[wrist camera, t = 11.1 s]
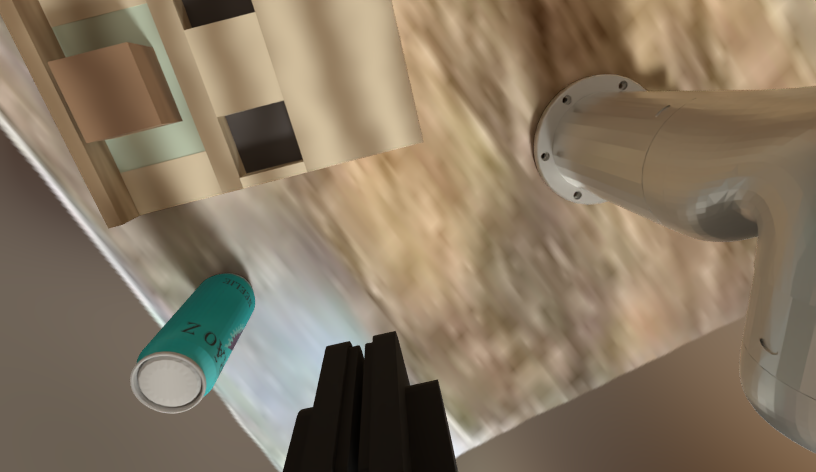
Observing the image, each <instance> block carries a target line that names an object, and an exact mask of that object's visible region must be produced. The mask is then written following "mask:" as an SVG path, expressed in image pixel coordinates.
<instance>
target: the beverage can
mask: <svg viewBox="0 0 816 472" xmlns="http://www.w3.org/2000/svg"><path fill="white" fill-rule="evenodd" d="M254 307H255V296H254V292H253V289H252V287H251V285H250V283H249V282H248V281H247V280H246V279H244V278H243V277H241V276H239V275H237V274H232V273H225V274H219V275H215V276H212V277H210V278H208V279H206V280H205V281H204V282H203V283H202V284H201V285H200V286H199V287H198V288H197V289H196V290H195V291H194V293H193V294H192V295H191V296H190V297H189V298H188V299H187V301H186V302H185V303H184V304H183V305H182V306H181V307H180V308H179V310H178V311H177V312H176V313H175V314H174V315H173V316H172V318H171V319H170V320H169V321H168V322H167V323H166V324H165V326H164V327H163V328H162V329H161V330H160V331H159V332H158V333H157V335H156V336H155V337H154V338H153V339H152V340H151V342H150V343H149V344H148V345H147V346H146V347H145V348H144V349H143V350H142V352H141V353H140V355H139V357H138V359H137V364H136V365H135V367H134V369H133V371H132V373H131V378H130V384H131V388H132V391H133V393H134V394H135V396H136V397H137V398H138V400H139V401H141V402H142V403H143V404H144V405H145V406H147V407H149V408H151V409H153V410H156V411H158V412H163V413H180V412H184V411H187V410H189V409H191V408H193V407H194V406H196V405H197V404H198V403H199V402H200V401H201V399H202V398H203V396H205V395H206V394H207V393H209V392H210V390H211V389H212V388H213V386H214V384H215V382H216V380H217V378H218V377H219V375H220V373H221V371H222V369H223V367H224V365H225V363H226V361H227V360H228V358H229V356H230V354H231V352H232V350H233V348H234V346H235V345H236V343H237V341H238V339H239V337H240V335H241V333H242V331H243V329H244V328H245V326H246V324H247V322H248V320H249V318H250V316H251V314H252V312H253V310H254Z"/></svg>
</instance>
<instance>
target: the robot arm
mask: <svg viewBox="0 0 816 472" xmlns="http://www.w3.org/2000/svg"><path fill="white" fill-rule="evenodd" d="M619 84H620V87H619ZM563 97H564V98H565V101H564V102H562V100H563ZM543 153H544V157H542V158H541V155H542V154H543ZM534 158H535V163H536V166H537V169H538V172H539V174H540V176H541V178H542V180H543V181H544V182H545V184H546V185H547V186H548V187H549V188H550V189H551V190H552V191H553V192H555V193H556V194H557V195H559V196H561V197H563V198H564V199H566V200H569V201H571V202H574V203H579V204H587V205H588V204H600V203H604V202H608V201H609V202H611V203H613V204H616V205H618V206H620V207H622V208H624V209H627V210H629V211H631V212H633V213H636V214H638V215H640V216H642V217H644V218H647V219H649V220H651V221H653V222H656V223H658V224H660V225H662V226H664V227H667V228H669V229H672V230H674V231H676V232H678V233H681V234H683V235H686V236H688V237H691V238H694V239H698V240H704V241H710V242H731V241H739V240H744V239H749V238H753V237H758V241H757V249H756V255H755V260H754V269H755V270H754V275H753V281H752V287H751V292H750V298H749V303H748V309H747V314H746V320H745V326H744V331H743V338H742V344H741V350H740V361H739V370H740V371H739V372H740V379H741V384H742V387H743V390H744V393H745V395H746V397H747V399H748V400H749V402H750V403H751V404H752V406H753V407H754V409H755V410H756V411H757V412H758V414H759V415H760V416H761V417H762V418H763V419H764V420H766V421H767V422H768V423H769V424H770V425H771V426H772V427H774V428H775V429H776V430H778V431H779V432H780V433H782V434H783V435H785V436H786V437H788V438H789V439H791V440H792V441H794V442H796V443H797V444H799V445H801V446H803V447H804V448H806V449H808V450H810V451H812V452H814V453H816V86H810V87H802V88H786V89H767V90H721V91H646V90H645V89H644V88H643V87H642V86H641V85H640V84H639V83H637V82H635V81H633V80H631V79H630V78H627V77H623V76H620V75H612V74H601V75H593V76H590V77H586V78H582V79H580V80H578V81H576V82H574V83H572V84H570V85H569V86H567V87H566V88H565V89H563V90H562V91H560V92H559V93H558V94H557V95H556V97H555V98H554V99H553V100H552V101H551V102H550V103H549V105H548V106H547V108H546V109H545V111H544V112H543V114H542V116H541V119H540V121H539V123H538V126H537V130H536V133H535V139H534ZM575 192H576V194H575V195H574V193H575ZM283 472H458V470H457V465H456V460H455V455H454V450H453V445H452V440H451V436H450V431H449V426H448V422H447V417H446V413H445V408H444V404H443V399H442V395H441V391H440V386H439V382H438V380H434V381H429V382H424V383H420V384H415V385H411V386H410V383H409V379H408V375H407V371H406V368H405V364H404V360H403V356H402V352H401V348H400V344H399V340H398V337H397V333H396V331H393V332H389V333H384V334H380V335H375V336H373V342H372V343H367V344H365V358H364V357H363V354H362V350H361V348H360V346H359V345H358V346H354V347H352V344H351V342H350V341H348V342H344V343H339V344H334V345H330V346H327V347H326V349H325V354H324V358H323V363H322V368H321V373H320V377H319V382H318V387H317V391H316V396H315V401H314V405H313V407H311V408H306V409H302V410H300V411H299V413H298V415H297V418H296V422H295V426H294V430H293V434H292V438H291V442H290V446H289V449H288V453H287V457H286V461H285V465H284V469H283Z"/></svg>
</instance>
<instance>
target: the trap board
mask: <svg viewBox="0 0 816 472" xmlns="http://www.w3.org/2000/svg"><path fill="white" fill-rule="evenodd" d="M0 14H1V16H2V18H3V20H4V22H5V24H6V26H7V28H8V30H9V32H10V34H11V36H12V38H13V40H14V42H15V44H16V46H17V48H18V50H19V52H20V54H21V56H22V58H23V60H24V62H25V64H26V66H27V68H28V70H29V72H30V74H31V76H32V78H33V80H34V82H35V84H36V86H37V88H38V90H39V92H40V94H41V96H42V98H43V100H44V102H45V104H46V106H47V108H48V110H49V111H50V113H51V115H52V117H53V119H54V121H55V123H56V125H57V127H58V129H59V131H60V133H61V135H62V137H63V139H64V141H65V143H66V145H67V147H68V149H69V151H70V153H71V155H72V157H73V159H74V161H75V163H76V165H77V167H78V169H79V171H80V173H81V175H82V177H83V179H84V181H85V183H86V185H87V187H88V189H89V191H90V193H91V195H92V197H93V199H94V201H95V203H96V205H97V207H98V209H99V211H100V213H101V215H102V217H103V219H104V221H105V223H106V225H107V227H108V228H112V227H116V226H119V225H123V224H125V223H126V222H128V221H130V220H132V219H134V218H136V217H138V216H140V215H143V214H147V213H151V212H155V211H159V210H162V209H166V208H170V207H174V206H178V205H182V204H186V203H190V202H193V201H197V200H201V199H205V198H209V197H213V196H217V195H220V194H224V193H228V192H232V191H236V190H240V189H244V188H248V187H252V186H256V185H260V184H264V183H267V182H271V181H275V180H279V179H283V178H287V177H291V176H295V175H298V174H302V173H306V172H310V171H314V170H318V169H322V168H325V167H329V166H333V165H337V164H341V163H345V162H349V161H353V160H356V159H360V158H364V157H368V156H372V155H376V154H380V153H383V152H387V151H391V150H395V149H399V148H403V147H407V146H411V145H414V144H418V143H422V142H423V137H422V133H421V128H420V124H419V120H418V115H417V111H416V106H415V102H414V98H413V93H412V89H411V84H410V80H409V76H408V71H407V67H406V62H405V58H404V54H403V49H402V45H401V40H400V36H399V32H398V27H397V23H396V18H395V14H394V9H393V5H392V1H391V0H0ZM125 42H130V43H135V44H139V45H144V46H149V47H153V48H154V51H155V53H156V56H157V58H158V61H159V63H160V66H161V68H162V71H163V73H164V76H165V78H166V81H167V83H168V85H169V88H170V90H171V93H172V95H173V98H174V100H175V103H176V105H177V108H178V110H179V113H180V115H181V118H182V120H183V121H181V122H177V123H173V124H169V125H165V126H161V127H157V128H154V129H150V130H146V131H142V132H138V133H134V134H130V135H126V136H122V137H118V138H114V139H108V140H103V141H97V142H91V143H86V141H85V139H84V137H83V135H82V133H81V131H80V129H79V127H78V125H77V123H76V121H75V119H74V117H73V114H72V112H71V110H70V108H69V106H68V104H67V102H66V100H65V98H64V96H63V94H62V92H61V90H60V88H59V86H58V84H57V82H56V79H55V77H54V75H53V73H52V71H51V69H50V67H49V65H48V63H47V62H50V61H54V60H58V59H62V58H66V57H70V56H74V55H77V54H81V53H85V52H89V51H93V50H97V49H101V48H105V47H109V46H113V45H117V44H121V43H125Z"/></svg>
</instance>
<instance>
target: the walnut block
mask: <svg viewBox="0 0 816 472" xmlns="http://www.w3.org/2000/svg"><path fill="white" fill-rule="evenodd" d="M47 63H48V65H49V67H50V69H51V71H52V73H53V75H54V77H55V79H56V82H57V84H58V86H59V88H60V90H61V92H62V94H63V96H64V98H65V100H66V102H67V104H68V106H69V108H70V110H71V112H72V114H73V117H74V119H75V121H76V123H77V125H78V127H79V129H80V131H81V133H82V135H83V137H84V139H85V141H86V143H91V142H97V141H103V140H108V139H114V138H118V137H122V136H126V135H130V134H134V133H138V132H142V131H146V130H150V129H154V128H157V127H161V126H165V125H169V124H173V123H177V122H181V121H183V120H182V118H181V115H180V113H179V110H178V108H177V105H176V103H175V100H174V98H173V95H172V93H171V90H170V88H169V85H168V83H167V81H166V78H165V76H164V73H163V71H162V68H161V66H160V63H159V61H158V58H157V56H156V53H155V51H154V48H153V47H149V46H144V45H139V44H135V43H130V42H125V43H121V44H117V45H113V46H109V47H105V48H101V49H97V50H93V51H89V52H85V53H81V54H77V55H74V56H70V57H66V58H62V59H58V60H54V61H50V62H47Z"/></svg>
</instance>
